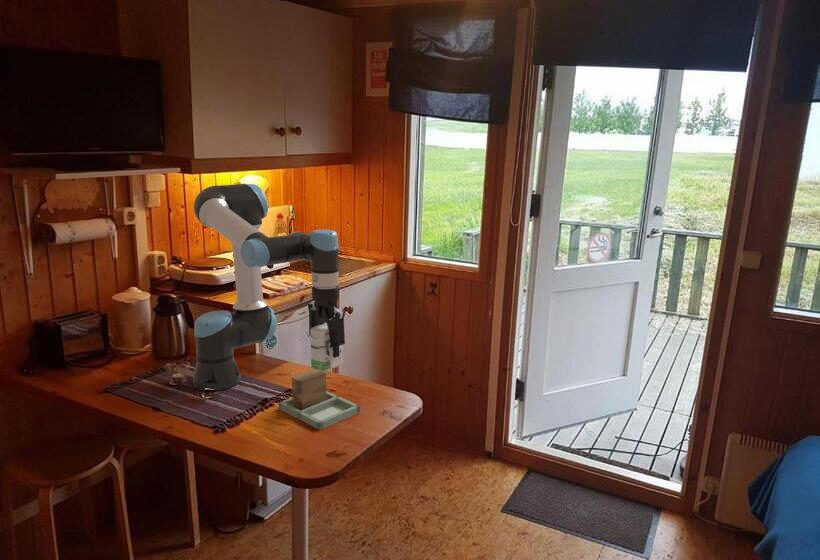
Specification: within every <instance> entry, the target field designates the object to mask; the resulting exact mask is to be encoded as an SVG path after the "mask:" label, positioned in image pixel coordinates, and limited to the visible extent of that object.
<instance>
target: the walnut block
mask: <svg viewBox="0 0 820 560" xmlns="http://www.w3.org/2000/svg"><path fill="white" fill-rule="evenodd" d="M326 391H327V373H326V372H325V371H322V370H318V369H314V368H312V369H311V370H308V371H305V372H302V373H299V374H297V375H293V376H291V394H292V395H291V396H292V397H291V398H292V400H293V407H294V408H296V409H298V410H300V411H301V410H303V409H306V408H308V407H311V406H313V405H316V404H318V403H321V402H323V401H326V400H327V394H326Z"/></svg>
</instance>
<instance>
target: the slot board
mask: <svg viewBox="0 0 820 560" xmlns="http://www.w3.org/2000/svg"><path fill="white" fill-rule="evenodd" d="M326 394H327V400H326V401H323V402H321V403H318V404H316V405H313V406H311V407H308V408H306V409H303V410H301V411H300V410H298V409H296V408H294V407H293V400H292V397H289V398H288V399H284V400H282V401H280V402H278V409H279V410H280V411H283V412H284V413H286V414H287V415H288V414H289V415H290V416H292V417H294V418H296V419H298V420H300V421H302V422H304V423H306V424H307V425H310V426H312V427H314V429H317V430H319V431H321V430H323V429H326V428H328V427H330V426H332V425H335V424H337V423H339V422H342V421H344V420H346V419H348V418H350V417H353V416H355V415H357V414H359V413H361V405H358V404H357V403H354V402H352V401H350V400H348V399H345V398H343V397H341V396H339V395H337V394H334V393H332V392H330V391H328V390H326Z"/></svg>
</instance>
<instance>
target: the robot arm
mask: <svg viewBox="0 0 820 560" xmlns="http://www.w3.org/2000/svg"><path fill="white" fill-rule="evenodd" d="M193 212H194V216H195V217H196V219H197V220H198V221H199V223H201V224H202V225H203V226H204V227H207V228H209V229H210V228H211V229H214V230H215V231H216V232H217V233H219V234H220V235H221V236H222V237H224V239H226V240H228V241H229V243H231V245H232V256H233V257H232V258H233V269H234V279H235V292H236V293H235V294H236V302H235V303H234V304H233V305H232V309H233V311H232V313H231V312H230V311H228V310H223V309H222V310H221V309H219V310H211V311H209V312H206V313H203V314H201V315H200V316H198V317H197V318H196V320H195V321H194V330H193V331H194V333H193V335H194V340H195V341H194V342H195V351H196V364H195V369H194V372H193V377H192V385H193V387H194V388H195V389H197V390H200V391H205V390H204V389H205V388H210V389H215V390H216V391H221V390H226V389H227V390H228V389H230V388H232V387H235V386H236V385H238V384H239V383H240V382H241V380H242V379H241V371H240V369H239V367H238V364H237V363H236V360H235V357H234V356H235V355H234V354H235V353H234V350H236V349H238V348H242V347H247V346H251V345H255V344H261V343H263V342H267V341H269V340H270V339H272V338H273V336H274V335H275V333H276V330H277V317H276V314H275V311H274V309H273V308H272V307H270V306H269V303H268V302H267V301H266V300H265V299H264V296H263V293H264V292H263V281H262V268H264V267H267V266H271V265H278V264H286V263H287V264H288V263H293V262H298V261H299V262H300V261H306V262H310V268H311V269H310V271H311V286H312V287H311V300H312V301H314V302H310V303H308V304H307V308H308V333H309V334H308V335H309V337H310V338H311V329H312V327H315V326H318V325H322V324H325V323H327V326H328V330H329V336H330V341H331V345H330V346H329V357H330V369H331V370H332V369H334V368H338V367H339V366H340V364H339V355H340V353H339V346H340V345H342V346H344V345H345V344H346V341H345V339H346V338H345V337H346V336H345V316H346V312H345V310H341V309H339V307H338V303H337V302H338V300H339V299H340V287H339V285H340V273H339V266H340V265H339V247H340V245H339V239H338V233H337V232H336V231H335V230H333V229H316V230H312V231H311V232H310V233H307V232H304V231H293V232H291V233H289V234H287V235H280V236H279V235H278V236H270V237H269V236H267V235H265V234H264V233H263V232H261V231H260V230H259V229H260V227H262V225H263V219H264V218H266V217H267V215H268V212H269V203H268V199H267V196H266V195H265V192H264V190H263V189H262V188H261V187H260V186H259V185H257V184H254V183H240V184H239V183H238V184H224V185H222V184H221V185H218V184H217V185H211V186H207V187H205V188H204V189H202V190H201V191H200V192H199V193H198V194H197V196H196V197H195V200H194V202H193Z"/></svg>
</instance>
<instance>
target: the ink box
mask: <svg viewBox="0 0 820 560" xmlns="http://www.w3.org/2000/svg"><path fill="white" fill-rule="evenodd" d="M330 345H331V341H330V336H329V330H328V326H327V323H325V324H322V325H318V326H315V327H312V329H311V337H310V364H311V365H310V366H311V368H312V369H317V370H320V371H322V372H325V371H327V370H330V369H331V368H330V357H329V346H330ZM339 353H340V355H339V365H341V364H342V363H343V359H344V358H343V345H340V346H339Z"/></svg>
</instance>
